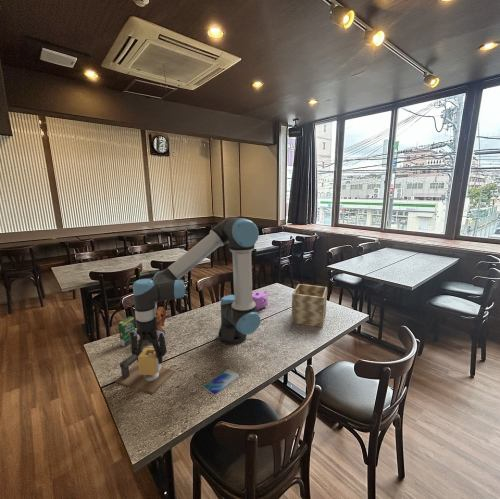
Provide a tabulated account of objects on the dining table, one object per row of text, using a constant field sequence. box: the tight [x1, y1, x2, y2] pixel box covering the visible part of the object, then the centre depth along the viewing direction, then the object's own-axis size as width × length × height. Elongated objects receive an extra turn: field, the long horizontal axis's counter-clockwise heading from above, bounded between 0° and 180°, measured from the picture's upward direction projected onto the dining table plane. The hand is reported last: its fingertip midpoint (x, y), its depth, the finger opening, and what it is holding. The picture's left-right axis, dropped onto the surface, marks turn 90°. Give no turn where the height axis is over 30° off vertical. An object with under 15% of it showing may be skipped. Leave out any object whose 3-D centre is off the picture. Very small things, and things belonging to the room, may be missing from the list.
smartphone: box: [203, 368, 241, 396], centre depth 111 cm, size 7×1×15 cm
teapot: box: [252, 289, 269, 311], centre depth 182 cm, size 15×13×11 cm
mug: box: [155, 306, 166, 341], centre depth 145 cm, size 15×8×15 cm, turn 168°
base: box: [114, 353, 176, 395], centre depth 113 cm, size 19×14×12 cm
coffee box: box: [117, 315, 136, 348], centre depth 139 cm, size 8×3×13 cm, turn 159°
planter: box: [290, 283, 328, 328], centre depth 165 cm, size 18×19×18 cm
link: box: [137, 347, 164, 375], centre depth 116 cm, size 16×6×8 cm, turn 174°
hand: (150, 369), depth 112 cm, fingers closed on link, 6 cm apart
